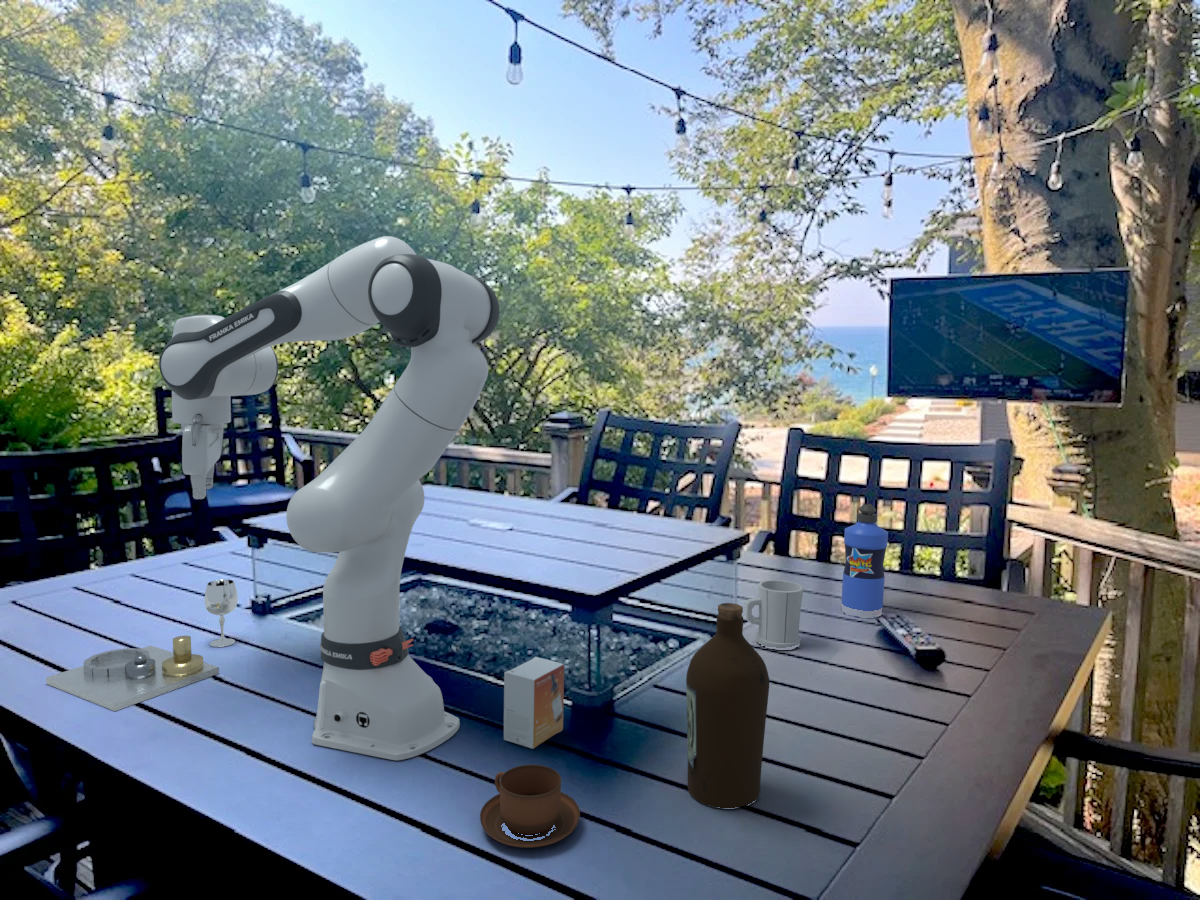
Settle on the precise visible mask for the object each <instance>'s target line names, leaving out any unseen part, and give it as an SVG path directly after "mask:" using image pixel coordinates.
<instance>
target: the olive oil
mask: <svg viewBox="0 0 1200 900" xmlns="http://www.w3.org/2000/svg"><path fill="white" fill-rule="evenodd" d="M743 608H744V607H743V606H742V605H740V604H738V603H732V602H722V603H720V604H718V605H717V611H718V612H717V613H718V614H717V615H716V632H715V634H714V635H713V636H712V637H711V638H709V640H708V641H706V642H705V643H704V644H703V645H702V646H701V647H700V648H699V649H698V650H697V651H695V653H694V654H693V655H692V657H691V659H690V662H689V664H688V667H687V671H686V679H685V685H686V686H685V688H686V692H685V693H686V728H687V729H686V731H687V732H686V734H687V735H686V738H687V740H686V741H687V742H686V743H687V744H686V745H687V790H688V793H689V794H690V796H691V797H692V798H694V800H696V801H697V800H698V802H699V803H700V804H703V805H705V804H706V805H705V806H707V805H708V807H710V806H713V807H712V808H714V807H720V808H735V807H741V806H745V805H748V804H750V803H752V802H753V801H755V800H756V799H757V798H758V796H759V797H760V794H759V793H761V779H762V766H763V754H764V741H765V731H766V722H767V711H768V703H769V701H768V700H769V693H770V692H769V691H770V677H769V672H768V669H767V665H766V662H765V661H764V659H763V658H762V656H761V655H760V654H759V653H758V652H757V650H756V649H755V648H754V647H753V646H752V645H751V643H750V642H749V641H748V640H747V639H746V638H745V637H744V635H743V629H744V616H743V613H744V611H743V610H744V609H743ZM758 799H759V798H758ZM758 799H757V800H758ZM709 805H710V806H709Z"/></svg>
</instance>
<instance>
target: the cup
mask: <svg viewBox="0 0 1200 900" xmlns="http://www.w3.org/2000/svg"><path fill="white" fill-rule="evenodd" d="M757 592H758V595H757V597H750V598H747V599H746V601H745V602H744V604H745V605H744V608H745V609H744V610H745V612H744V613H745V619H746V620H747V621H748V622H749V623H751V624H752V625H758V632H757V633H756V635H755V642H756V643H757V642H758V643H759V644H761V645H764V646H767V647H776V648H786V647H792V646H795V645H798V644H799V643H800V641H801V640H802V639H801V636H800V635H799V633H800V624H801V623H800V622H801V621H800V620H801V611H802V610H801V609H802V602H803V595H804V587H803V586H802V584H799V583H797V582H794V581H789V580H781V579H780V580H779V579H771V580H770V579H769V580H761V582H759V583H758V584H757ZM756 606H758V617H755V616H754V615H753V614H752V613H753V612H752V611H753V610H752V609H754V607H756ZM758 643H757V644H758ZM759 644H758V645H759ZM761 645H760V646H761Z"/></svg>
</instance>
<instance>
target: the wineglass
mask: <svg viewBox="0 0 1200 900" xmlns="http://www.w3.org/2000/svg"><path fill="white" fill-rule="evenodd" d="M205 588H206V589H205V595H204V607H205V609H206V611H207V612H208V613H209V614H211V615H215V616H219V619H218V622H219V626H220V638H218V639H216V640H215V639H214V640H212V641H211V642H210V643H209V646H211V647H214V648H223V647H228V646H232V645H234V644H235V643H236V640H235V639H233V638H226V637H225V635H224V634H225V633H224V625H225V619H226V618H225V617H224V616H226V615H229V614H230V613H231V612H232V613H233V611H234V610H235V609H236V607H237V605H238V600H239V599H238V592H237V587H236V584H235V581H234V580H232V579H216V580H213V581H208V582H207V584H206V587H205Z"/></svg>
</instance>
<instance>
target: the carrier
mask: <svg viewBox="0 0 1200 900" xmlns="http://www.w3.org/2000/svg"><path fill="white" fill-rule="evenodd" d="M171 657H173V651H169V650H167V649H163V648H160V647H157V646H153V645H148V646H145V647H141V648H139V647H138V648H134V647H133V648H132V647H131V648H128V647H127V648H118V649H110V650H106V651H103V652H100V653H96V654H94V655H92V656H90V657H89V658H86V659H85V660H84V661H83V665H82V666H77V667H75V668H72V669H68V670H66V671H62V672H59V673H55V674H52V675H49V676H48V675H47V676H46V678H45V680H46V685H48V686H51V687H53V688H56V689H58V690H60V691H63V692H65V693H69V694H71V695H73V696H74V697H77V698H80V699H83V700H85V701H88V702H91V703H93V704H95V705H98V706H101V707H102V708H106V709H108V710H111V711H113V712H116V711H119V710H120V711H121V710H123V709H125V708H128V707H130V706H134V705H136V704H138V703H142V702H145V701H148V700H151V699H152V698H155V697H158V696H162V695H164V694H166V693H169V692H172V691H174V690H178V689H180V688H183V687H186V686H189V685H191V683H192V684H194V683H197V682H200V681H203V680H206V679H208V678H211V677H213V675H214V676H216V675H218V674H220V671H219V666H216V665H214V664H209V663H208V662H204V661H203V665H204V667H203V669H202V670H201V671H199V672H197V673H194V674H190V675H186V676H178V677H170V676H165V675H163V674H162V662H163V661H164V660H166V659H168V658H171Z"/></svg>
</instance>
